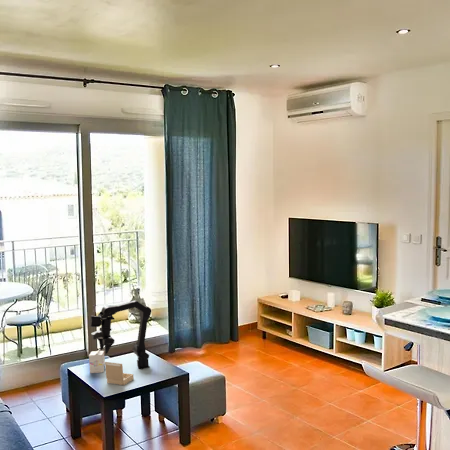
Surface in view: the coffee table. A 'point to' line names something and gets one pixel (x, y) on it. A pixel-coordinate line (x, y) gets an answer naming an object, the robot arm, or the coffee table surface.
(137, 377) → the coffee table surface
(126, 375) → the mailer
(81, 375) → the coffee table surface
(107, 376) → the lid
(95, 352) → the ink box
